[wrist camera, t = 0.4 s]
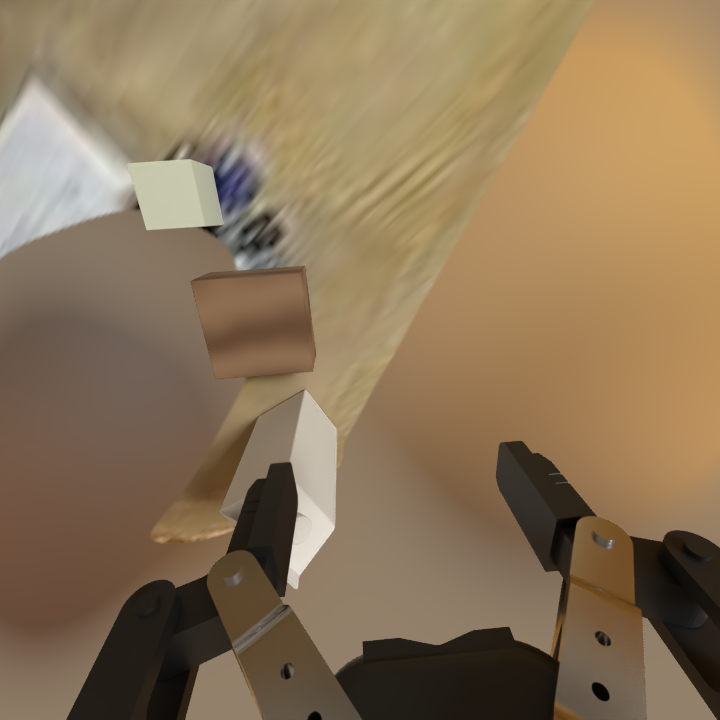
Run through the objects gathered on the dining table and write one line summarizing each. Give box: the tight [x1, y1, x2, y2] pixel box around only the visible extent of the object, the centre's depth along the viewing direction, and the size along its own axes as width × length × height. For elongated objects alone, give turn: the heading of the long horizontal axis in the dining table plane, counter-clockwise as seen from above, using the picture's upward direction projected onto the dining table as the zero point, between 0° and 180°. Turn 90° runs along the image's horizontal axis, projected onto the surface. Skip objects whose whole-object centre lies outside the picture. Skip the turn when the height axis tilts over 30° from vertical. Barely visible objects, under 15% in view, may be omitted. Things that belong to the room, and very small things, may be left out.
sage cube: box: [127, 159, 224, 230], centre depth 31 cm, size 5×5×5 cm
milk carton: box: [219, 390, 337, 589], centre depth 34 cm, size 7×7×19 cm
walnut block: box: [191, 266, 316, 379], centre depth 36 cm, size 10×10×5 cm
